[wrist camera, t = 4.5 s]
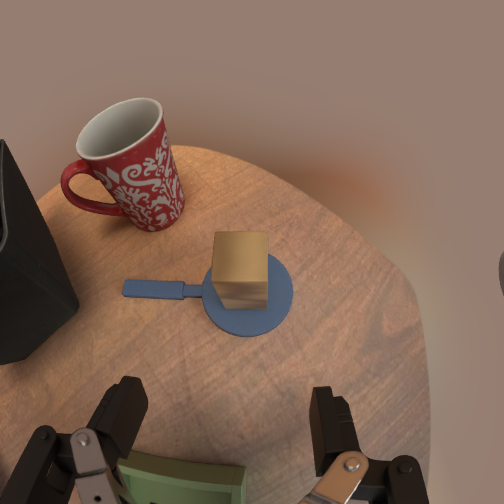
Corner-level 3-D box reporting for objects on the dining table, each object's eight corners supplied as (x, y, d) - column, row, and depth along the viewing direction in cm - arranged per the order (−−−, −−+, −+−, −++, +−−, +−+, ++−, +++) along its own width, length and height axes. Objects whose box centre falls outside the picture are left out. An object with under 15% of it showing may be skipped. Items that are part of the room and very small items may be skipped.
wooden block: (267, 271, 28) (267, 230, 21) (267, 310, 27) (267, 281, 20) (227, 271, 29) (214, 231, 21) (225, 309, 27) (210, 281, 20)
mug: (178, 168, 36) (150, 86, 24) (204, 216, 33) (174, 126, 21) (97, 210, 34) (46, 142, 22) (110, 264, 30) (44, 198, 18)
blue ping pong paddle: (290, 252, 30) (291, 249, 29) (293, 337, 26) (293, 335, 25) (132, 252, 31) (130, 249, 30) (120, 328, 27) (116, 327, 26)
